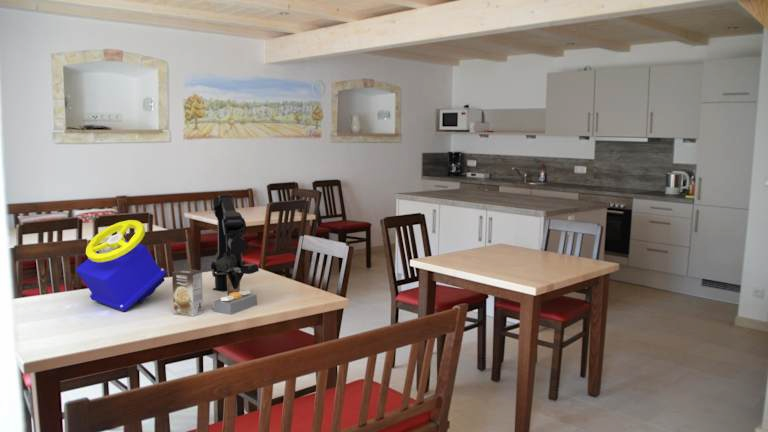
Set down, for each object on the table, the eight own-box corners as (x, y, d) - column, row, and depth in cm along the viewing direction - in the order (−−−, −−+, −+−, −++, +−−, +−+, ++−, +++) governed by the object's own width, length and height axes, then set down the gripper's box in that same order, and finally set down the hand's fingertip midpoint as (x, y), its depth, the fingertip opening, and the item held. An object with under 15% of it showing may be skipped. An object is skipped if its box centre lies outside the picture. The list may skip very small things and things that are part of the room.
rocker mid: (228, 296, 241) (229, 293, 241) (234, 294, 244) (234, 291, 243) (236, 299, 239) (236, 296, 239) (241, 297, 242) (242, 294, 242)
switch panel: (214, 311, 237) (213, 301, 237) (240, 302, 250) (240, 292, 250) (230, 314, 234) (230, 304, 233) (256, 304, 247) (256, 294, 246)
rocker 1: (220, 300, 237) (220, 297, 237) (226, 298, 240) (226, 295, 239) (228, 300, 235) (227, 297, 235) (234, 298, 238) (233, 295, 238)
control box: (148, 269, 268) (113, 214, 251) (188, 282, 253) (154, 224, 236) (100, 312, 253) (59, 255, 236) (140, 328, 238) (99, 269, 221)
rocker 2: (237, 295, 245) (236, 292, 245) (242, 293, 248) (242, 290, 248) (244, 295, 243) (244, 292, 243) (250, 293, 246) (249, 290, 246)
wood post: (224, 298, 256) (224, 274, 255) (233, 295, 260) (232, 271, 259) (234, 299, 254) (233, 275, 252) (242, 297, 258) (242, 272, 257)
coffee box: (172, 314, 234) (170, 271, 231) (183, 309, 240) (181, 268, 237) (193, 317, 231) (192, 273, 228) (204, 312, 237) (202, 270, 234)
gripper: (199, 249, 236) (201, 290, 238) (239, 254, 227) (240, 296, 230) (220, 245, 246) (222, 284, 248) (259, 249, 237) (260, 290, 239)
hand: (235, 288), depth 241 cm, fingers closed
